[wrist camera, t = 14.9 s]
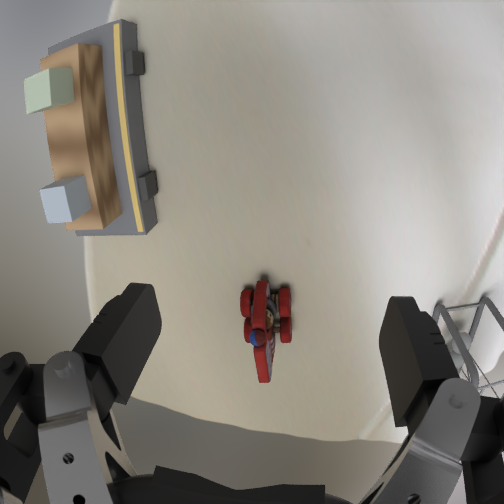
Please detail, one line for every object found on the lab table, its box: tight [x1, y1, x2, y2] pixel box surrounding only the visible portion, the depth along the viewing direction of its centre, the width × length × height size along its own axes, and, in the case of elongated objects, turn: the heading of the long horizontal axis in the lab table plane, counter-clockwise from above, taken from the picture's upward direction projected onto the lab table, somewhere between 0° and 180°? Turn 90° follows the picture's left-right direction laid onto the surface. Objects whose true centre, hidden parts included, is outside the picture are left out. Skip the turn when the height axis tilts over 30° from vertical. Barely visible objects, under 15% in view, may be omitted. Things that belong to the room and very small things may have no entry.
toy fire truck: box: [240, 281, 292, 383], centre depth 43 cm, size 7×12×10 cm, turn 6°
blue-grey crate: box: [40, 175, 92, 223], centre depth 30 cm, size 4×4×4 cm
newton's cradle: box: [433, 297, 504, 399], centre depth 41 cm, size 30×10×18 cm, turn 9°
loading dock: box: [48, 19, 158, 236], centre depth 35 cm, size 28×13×4 cm, turn 3°
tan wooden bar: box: [41, 43, 123, 230], centre depth 31 cm, size 22×6×5 cm, turn 3°
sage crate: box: [24, 68, 75, 114], centre depth 24 cm, size 4×4×4 cm
